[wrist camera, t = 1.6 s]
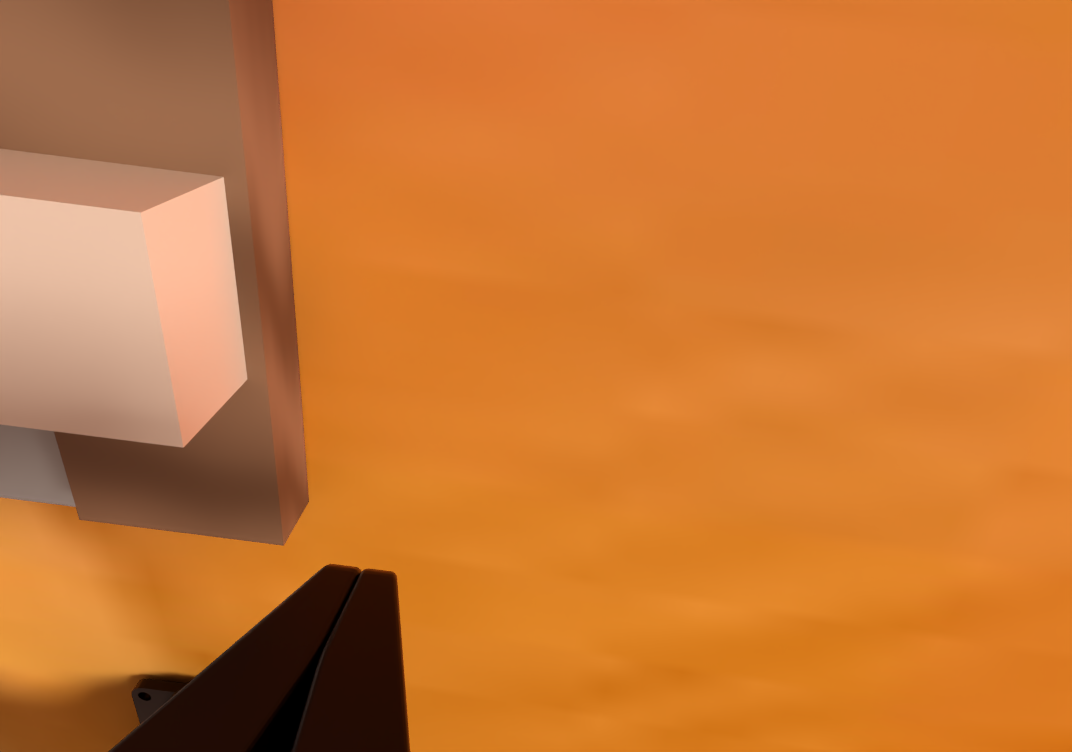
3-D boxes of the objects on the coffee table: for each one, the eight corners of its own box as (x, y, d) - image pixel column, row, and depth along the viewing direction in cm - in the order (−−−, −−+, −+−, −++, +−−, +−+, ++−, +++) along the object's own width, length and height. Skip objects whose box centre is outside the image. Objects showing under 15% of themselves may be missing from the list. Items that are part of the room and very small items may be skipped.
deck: (308, 501, 21) (283, 545, 19) (121, 477, 21) (79, 519, 19) (263, -120, 13) (214, -141, 11) (-33, -157, 13) (-128, -185, 11)
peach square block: (247, 379, 16) (183, 447, 14) (50, 354, 16) (-52, 417, 14) (224, 176, 14) (141, 212, 11) (-8, 147, 14) (-144, 176, 11)
